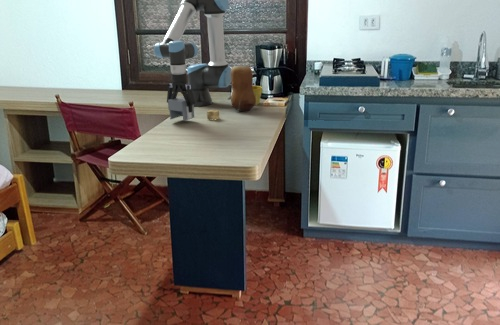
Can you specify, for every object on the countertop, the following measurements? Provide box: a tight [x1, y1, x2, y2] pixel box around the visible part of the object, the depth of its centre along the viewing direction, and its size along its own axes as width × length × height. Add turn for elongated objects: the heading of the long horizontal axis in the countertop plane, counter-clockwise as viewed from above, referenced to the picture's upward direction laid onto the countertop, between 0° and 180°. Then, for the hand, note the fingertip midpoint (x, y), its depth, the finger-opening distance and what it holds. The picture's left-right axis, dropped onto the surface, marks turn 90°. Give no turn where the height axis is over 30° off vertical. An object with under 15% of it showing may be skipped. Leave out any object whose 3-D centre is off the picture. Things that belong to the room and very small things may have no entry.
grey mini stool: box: [167, 96, 195, 122], centre depth 246 cm, size 9×9×10 cm
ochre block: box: [206, 109, 220, 121], centre depth 252 cm, size 4×4×4 cm
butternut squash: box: [230, 64, 256, 112], centre depth 265 cm, size 14×13×25 cm
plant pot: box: [252, 85, 263, 106], centre depth 284 cm, size 10×10×10 cm
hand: (181, 117), depth 247 cm, fingers closed on grey mini stool, 9 cm apart
